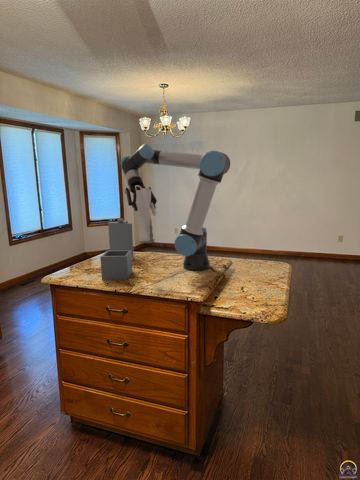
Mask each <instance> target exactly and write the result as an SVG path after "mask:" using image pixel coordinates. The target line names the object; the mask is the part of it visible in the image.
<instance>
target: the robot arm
mask: <svg viewBox="0 0 360 480" xmlns="http://www.w3.org/2000/svg"><path fill="white" fill-rule="evenodd" d="M145 164H152V165H161V166H162V165H163V166H167V167H168V166H169V167H177V168H186V169H193V170H199V171H198V177H199V182H198V185H197V188H196V191H195V195H194V197H193V201H192V204H191V207H190V210H189V213H188V217H187V220H186V223H185V224H184V225H182V226H181V228H180V231H179V234H178V235H177V236H176V238H175V240H174V249H175V250H176V252H177V253H178V254H180V255H181V256H184V260H183V263H182V265H183V266H182V267H183V268H184V269H186V270H189V271H204V270H208V269H210V268H211V263H210V260H209V257H208V254H207V253H208V250H207V249H208V248H207V246H208V241H207V240H208V239H207V238H208V237H207V236H208V233H207V232H208V231H207V227H205V226H204V224H205V221H206V218H207V215H208V211H209V209H210V206H211V203H212V199H213V197H214V194H215V191H216V188H217V186H218V185H220V184H221V183H222V179H223V177H224V175H226V174H227V173H228V172H229V170H230V167H231V159H230V157H229V156H228V155H227V154H226V153H224V152H220V151H219V150H210V151H209V150H208V151H207V152H205V153H204V154H196V153H187V152H179V151H167V150H157V149H153V148H152V146H151V145H150V144H147V143H143V144H142V145H141V146H140V147H138V149H137V150H136V151H135V152H133V154H132V155H126V156H123V157H122V158H121V159H120V166H121V169H122V172H123V174H124V177H125V180H126V182H127V185H128V187H125V189H124V193H125V194H126V198H127V205H128V206H129V207H132V208H133V210H134V211H135V212H136V213H137V218H138V217H140V216H141V211H140V208H139V206H138V204H137V197H136V189H137V190H141V188H146V186H145V185H144V182H143V179H142V176H141V174H140V171H139V169H140V168H142V166H144V165H145ZM136 185H138V186H140V187H141V188H140V187H138V186H136ZM135 186H136V188H135ZM148 188H149V189H151V205H150V212H151V213H152V215H153V217H155V216H156V214H157V206H156V205H157V202H158V200H157V198H156V196H155V195H154V193H153V191H152V188H151V187H150V186H148ZM149 189H146V190H149ZM131 193H132V194H133V195H132V194H131ZM132 197H133V198H132Z"/></svg>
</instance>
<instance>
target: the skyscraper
mask: <svg viewBox="0 0 360 480" xmlns="http://www.w3.org/2000/svg"><path fill="white" fill-rule="evenodd" d="M136 186H138V185H136ZM136 186H135V188H136ZM138 187H140V186H138ZM140 188H141V187H140ZM146 189H149V187H145V188H141V190H137V189H136V203H137V204H138V206H139V208H140V211H141V216H140V217H138V216H137V219H138V220H137V222H138V224H137V226H138V238H139V244H153V243H154V242H155V238H154V234H153V224H152V222H153V221H152V215H151V208H150V205H151V191H152V188H151V189H149V190H146Z"/></svg>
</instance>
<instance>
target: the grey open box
mask: <svg viewBox="0 0 360 480" xmlns="http://www.w3.org/2000/svg"><path fill="white" fill-rule="evenodd" d="M99 256H100V255H99ZM99 258H100V271H101V280H102V281H103V280H129V278H130V277H131V275H132V273H133V272H134V271H133V258H132V250H118V251H110V250H106V251H104V253H102V254H101V256H100V257H99Z"/></svg>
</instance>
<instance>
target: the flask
mask: <svg viewBox="0 0 360 480" xmlns="http://www.w3.org/2000/svg"><path fill="white" fill-rule="evenodd" d="M116 220H117V221H108V222H107V225H108V226H107V228H108V241H109V244H108V245H109V251H118V250H132V259H134V239H133V238H134V235H133V223H132V222H129V220H124V218H117V219H116Z"/></svg>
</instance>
